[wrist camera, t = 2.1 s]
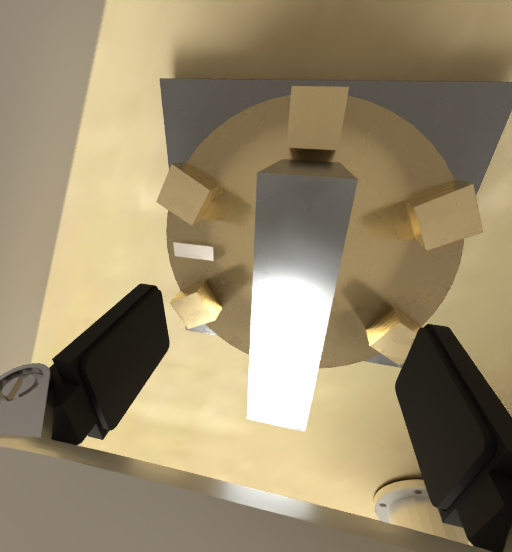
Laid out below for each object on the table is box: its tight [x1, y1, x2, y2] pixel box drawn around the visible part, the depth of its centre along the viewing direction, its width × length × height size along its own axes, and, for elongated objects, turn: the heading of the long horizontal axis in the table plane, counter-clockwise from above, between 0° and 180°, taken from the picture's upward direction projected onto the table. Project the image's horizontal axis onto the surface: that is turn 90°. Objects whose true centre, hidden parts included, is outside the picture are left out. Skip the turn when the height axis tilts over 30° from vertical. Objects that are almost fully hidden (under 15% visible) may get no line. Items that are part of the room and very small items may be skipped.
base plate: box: [160, 78, 512, 368], centre depth 20 cm, size 20×20×2 cm
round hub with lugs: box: [157, 86, 483, 432], centre depth 15 cm, size 18×18×10 cm
